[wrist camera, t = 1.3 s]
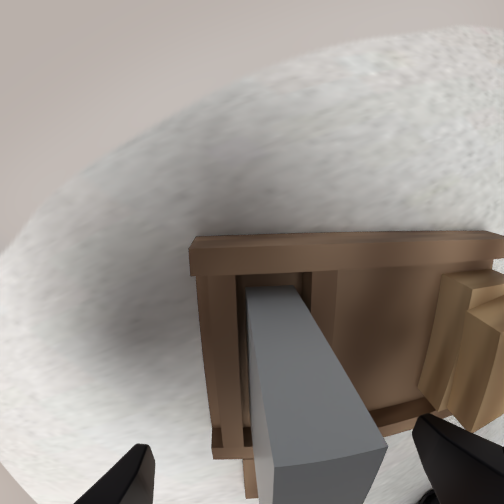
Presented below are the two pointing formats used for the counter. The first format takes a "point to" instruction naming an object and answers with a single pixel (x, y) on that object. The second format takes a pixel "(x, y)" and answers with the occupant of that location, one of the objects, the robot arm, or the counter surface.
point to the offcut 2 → (480, 367)
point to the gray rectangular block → (304, 408)
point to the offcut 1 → (453, 328)
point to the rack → (331, 313)
